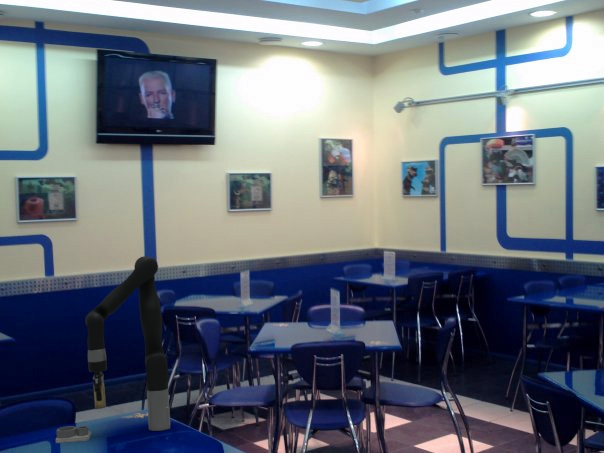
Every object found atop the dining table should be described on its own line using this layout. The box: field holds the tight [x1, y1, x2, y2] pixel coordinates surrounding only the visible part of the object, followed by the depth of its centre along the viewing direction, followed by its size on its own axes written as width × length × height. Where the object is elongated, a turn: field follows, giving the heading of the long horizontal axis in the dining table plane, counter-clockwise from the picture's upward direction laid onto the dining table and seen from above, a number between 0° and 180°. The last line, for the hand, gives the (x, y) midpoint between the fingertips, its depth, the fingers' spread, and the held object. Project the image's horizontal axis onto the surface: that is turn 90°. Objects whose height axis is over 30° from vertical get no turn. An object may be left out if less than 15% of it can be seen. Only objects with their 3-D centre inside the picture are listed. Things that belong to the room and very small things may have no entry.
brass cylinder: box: [93, 382, 107, 410], centre depth 328 cm, size 4×4×10 cm
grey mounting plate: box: [55, 425, 92, 444], centre depth 326 cm, size 13×9×4 cm
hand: (100, 399), depth 328 cm, fingers closed on brass cylinder, 4 cm apart
